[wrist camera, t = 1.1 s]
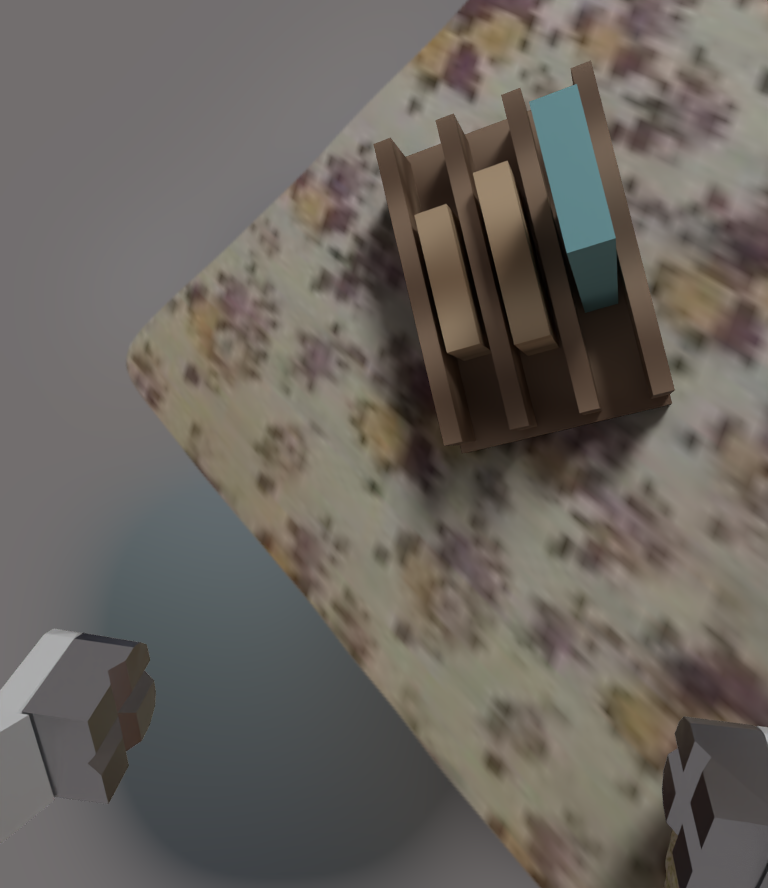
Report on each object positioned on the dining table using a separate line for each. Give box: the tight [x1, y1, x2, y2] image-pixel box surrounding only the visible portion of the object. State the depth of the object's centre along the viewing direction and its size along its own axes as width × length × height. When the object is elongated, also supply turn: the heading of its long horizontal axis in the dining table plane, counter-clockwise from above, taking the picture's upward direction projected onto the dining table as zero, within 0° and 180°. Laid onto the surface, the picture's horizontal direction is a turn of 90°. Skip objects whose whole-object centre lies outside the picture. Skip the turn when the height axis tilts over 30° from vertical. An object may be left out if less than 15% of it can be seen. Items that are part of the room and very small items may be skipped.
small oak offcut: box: [414, 204, 492, 361], centre depth 41 cm, size 8×2×4 cm, turn 14°
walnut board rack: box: [374, 61, 675, 453], centre depth 41 cm, size 18×12×6 cm, turn 14°
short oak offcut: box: [473, 161, 559, 356], centre depth 39 cm, size 9×2×6 cm, turn 14°
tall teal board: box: [529, 84, 618, 313], centre depth 34 cm, size 6×2×14 cm, turn 14°
